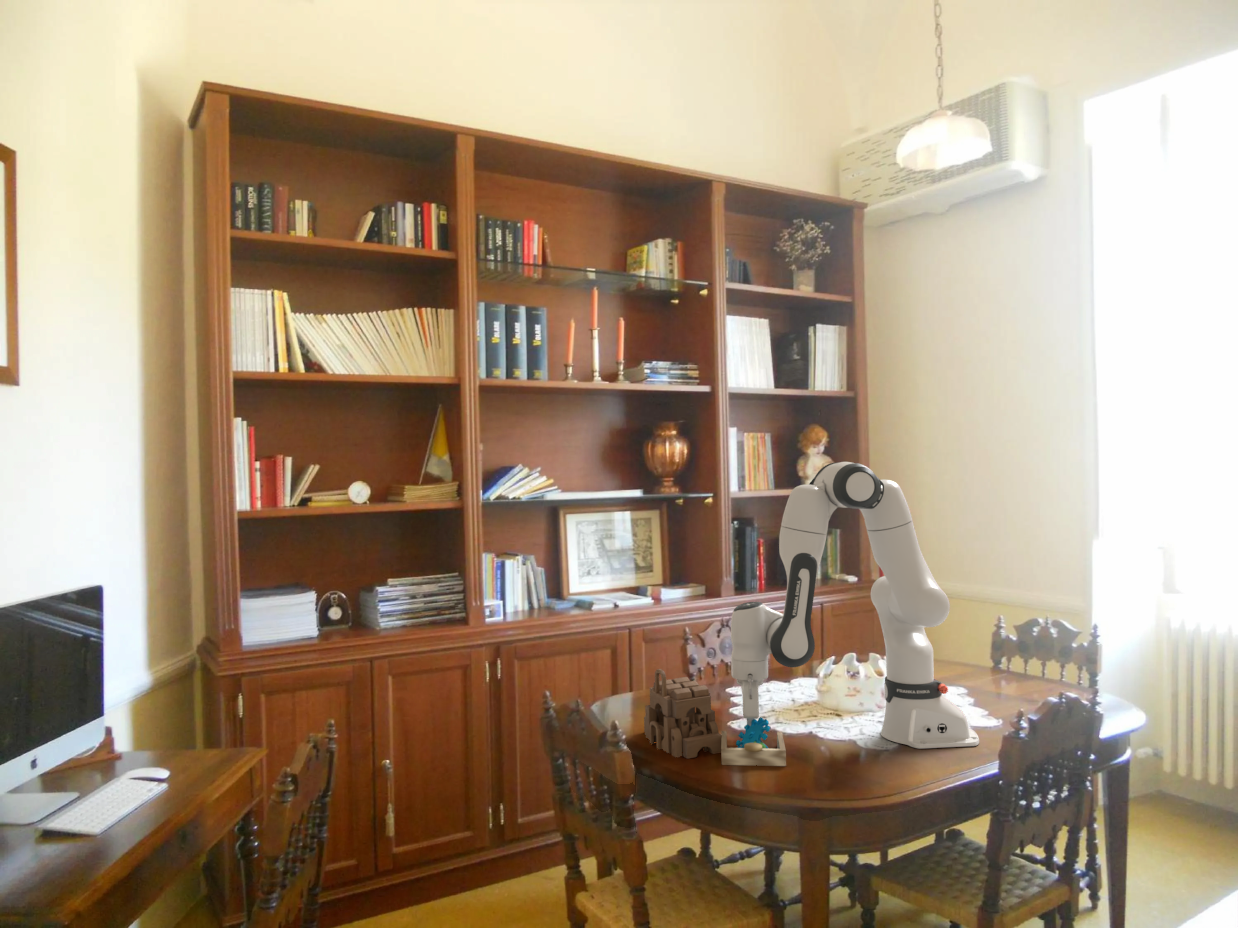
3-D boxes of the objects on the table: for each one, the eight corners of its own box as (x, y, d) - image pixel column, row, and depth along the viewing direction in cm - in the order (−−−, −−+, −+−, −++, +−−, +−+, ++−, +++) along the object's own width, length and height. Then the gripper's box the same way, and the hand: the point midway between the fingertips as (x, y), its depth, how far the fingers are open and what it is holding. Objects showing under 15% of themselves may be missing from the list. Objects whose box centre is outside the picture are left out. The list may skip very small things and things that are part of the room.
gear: (729, 738, 210) (758, 708, 210) (745, 753, 211) (774, 724, 211) (742, 760, 199) (772, 729, 199) (759, 776, 200) (790, 745, 200)
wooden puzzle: (730, 751, 207) (728, 673, 206) (675, 761, 201) (673, 680, 200) (685, 726, 227) (683, 654, 226) (634, 734, 221) (633, 661, 220)
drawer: (782, 746, 209) (781, 728, 209) (786, 768, 194) (786, 748, 194) (721, 745, 210) (721, 727, 210) (721, 766, 196) (721, 747, 196)
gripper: (764, 680, 201) (765, 740, 201) (761, 659, 221) (762, 714, 221) (736, 680, 201) (737, 739, 201) (736, 659, 222) (737, 713, 222)
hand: (750, 726), depth 211 cm, fingers closed
